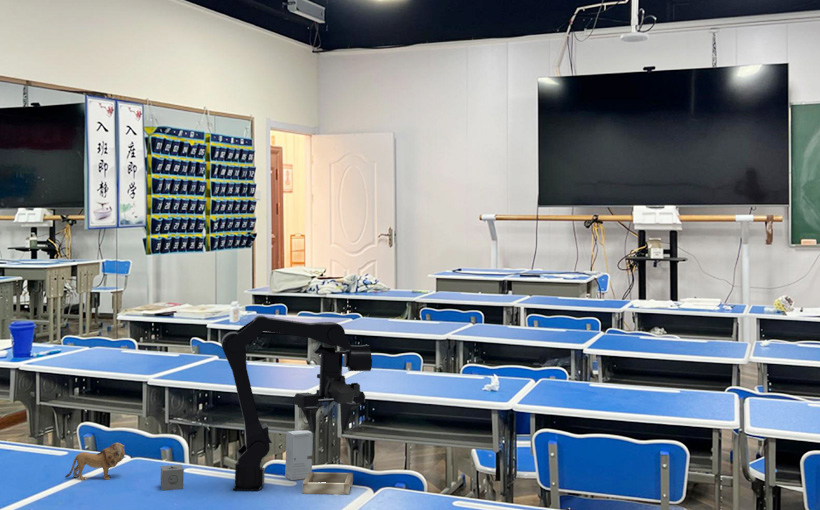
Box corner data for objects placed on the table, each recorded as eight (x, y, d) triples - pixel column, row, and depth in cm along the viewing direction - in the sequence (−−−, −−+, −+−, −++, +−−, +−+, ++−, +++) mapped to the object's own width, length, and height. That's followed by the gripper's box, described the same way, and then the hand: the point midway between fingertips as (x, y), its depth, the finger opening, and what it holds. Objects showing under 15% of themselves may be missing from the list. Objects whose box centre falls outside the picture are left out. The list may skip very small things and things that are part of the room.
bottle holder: (302, 493, 205) (302, 483, 205) (308, 481, 216) (309, 472, 216) (348, 494, 204) (348, 484, 204) (352, 482, 216) (352, 472, 216)
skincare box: (291, 481, 217) (292, 434, 217) (284, 477, 220) (285, 431, 221) (313, 478, 220) (313, 432, 220) (305, 474, 224) (306, 429, 224)
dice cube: (162, 491, 206) (162, 470, 206) (160, 486, 210) (160, 466, 210) (183, 489, 208) (183, 469, 208) (180, 484, 212) (181, 464, 212)
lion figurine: (125, 474, 221) (126, 440, 221) (123, 479, 216) (123, 444, 216) (66, 477, 218) (67, 442, 218) (62, 482, 213) (63, 446, 213)
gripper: (316, 376, 203) (314, 440, 203) (378, 373, 215) (376, 433, 214) (293, 371, 212) (291, 432, 211) (354, 368, 223) (351, 426, 223)
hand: (328, 431), depth 215 cm, fingers open, 9 cm apart
